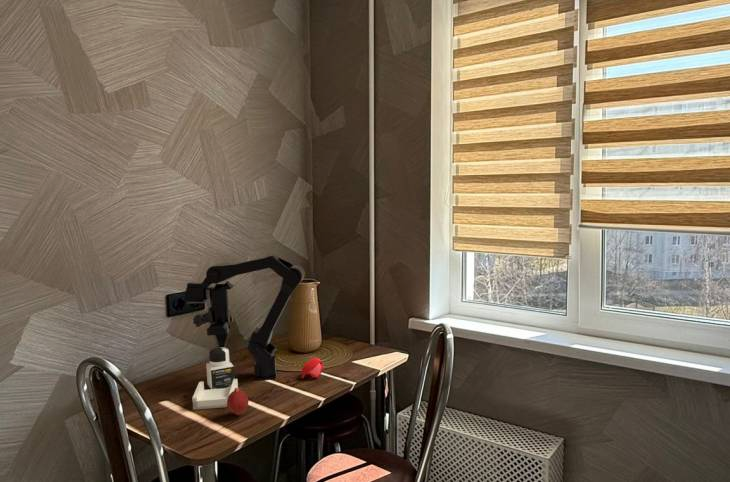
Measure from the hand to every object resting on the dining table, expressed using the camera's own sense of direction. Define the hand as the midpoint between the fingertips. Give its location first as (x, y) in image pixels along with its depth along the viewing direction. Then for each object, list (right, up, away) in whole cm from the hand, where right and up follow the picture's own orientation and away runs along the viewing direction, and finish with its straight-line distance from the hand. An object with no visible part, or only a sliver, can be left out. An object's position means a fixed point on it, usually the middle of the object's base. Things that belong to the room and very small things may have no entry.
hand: (222, 349), depth 189 cm
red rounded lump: (+12, -13, -30) cm, 35 cm away
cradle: (+3, -12, -18) cm, 22 cm away
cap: (+30, -9, -2) cm, 31 cm away
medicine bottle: (+1, -11, -7) cm, 13 cm away
